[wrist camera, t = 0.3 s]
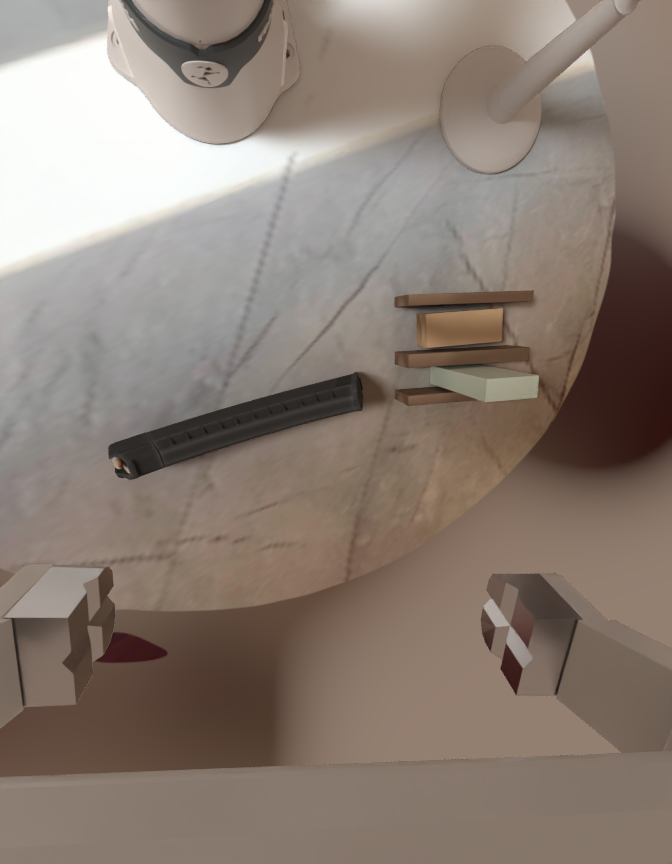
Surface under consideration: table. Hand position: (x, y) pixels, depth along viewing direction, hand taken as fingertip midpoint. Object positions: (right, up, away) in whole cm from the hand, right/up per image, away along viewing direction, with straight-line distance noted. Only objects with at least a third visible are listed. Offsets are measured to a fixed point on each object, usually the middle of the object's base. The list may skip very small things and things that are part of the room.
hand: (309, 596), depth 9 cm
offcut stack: (+16, +17, +47) cm, 53 cm away
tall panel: (+16, +12, +48) cm, 52 cm away
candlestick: (+19, +41, +42) cm, 62 cm away
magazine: (-11, +6, +45) cm, 46 cm away
